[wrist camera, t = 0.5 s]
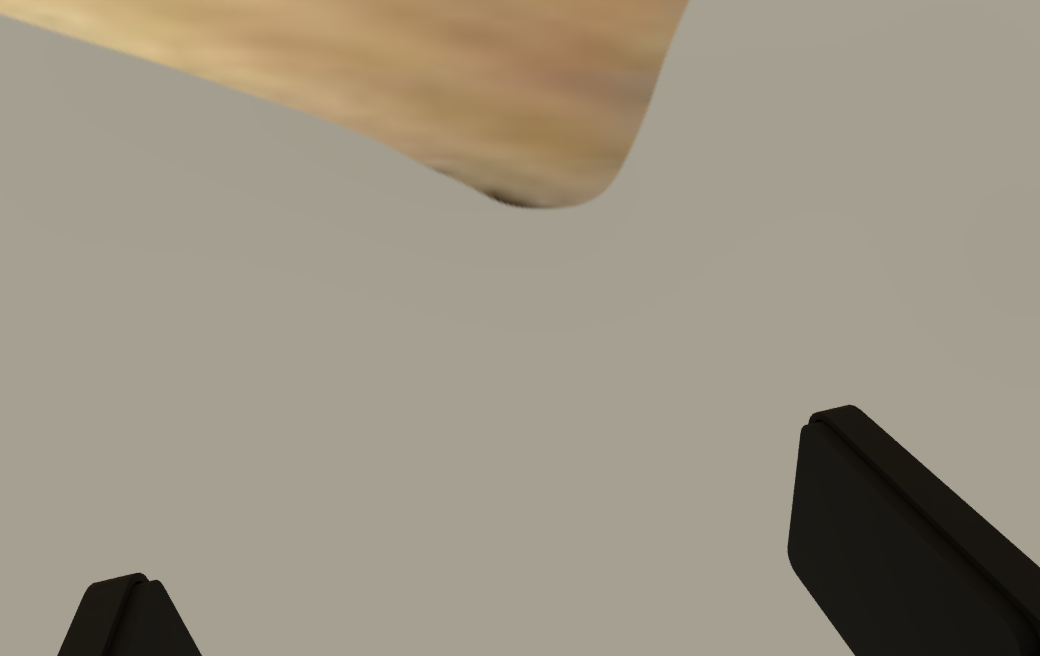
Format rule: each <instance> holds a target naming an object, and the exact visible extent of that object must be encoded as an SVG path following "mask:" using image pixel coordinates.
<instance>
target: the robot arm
mask: <svg viewBox="0 0 1040 656" xmlns="http://www.w3.org/2000/svg"><path fill="white" fill-rule="evenodd" d="M788 557H789V560H790V563H791V566H792V568H793V570H794V571H795V573H796V575H797V576H798V577H799V579H800V580H801V581H802V583H803V584H804V586H805V587H806V588H807V590H808V591H809V593H810V594H811V595H812V597H813V598H814V599H815V601H816V602H817V604H818V605H819V606H820V608H821V609H822V610H823V612H824V613H825V615H826V616H827V617H828V619H829V620H830V622H831V623H832V624H833V626H834V627H835V629H836V630H837V631H838V633H839V634H840V635H841V637H842V638H843V640H844V641H845V642H846V644H847V645H848V646H849V648H850V649H851V650H852V652H853V653H854V655H855V656H1040V567H1039V566H1038V565H1036V564H1035V563H1034V562H1033V561H1032V560H1031V559H1030V558H1029V557H1027V556H1026V555H1025V554H1024V553H1023V552H1022V551H1021V550H1019V549H1018V548H1017V547H1016V546H1015V545H1014V544H1013V543H1011V542H1010V541H1009V540H1008V539H1007V538H1006V537H1005V536H1003V535H1002V534H1001V533H1000V532H999V531H998V530H997V529H996V528H994V527H993V526H992V525H991V524H990V523H989V522H988V521H986V520H985V519H984V518H983V517H982V516H981V515H979V514H978V513H977V512H976V511H975V510H974V509H973V508H972V507H970V506H969V505H968V504H967V503H966V502H965V501H963V500H962V499H961V498H960V497H959V496H958V495H957V494H956V493H955V492H953V491H952V490H951V489H950V488H949V487H948V486H946V485H945V484H944V483H943V482H942V481H941V480H940V479H939V478H937V477H936V476H935V475H934V474H933V473H932V472H931V471H930V470H928V469H927V468H926V467H925V466H924V465H923V464H922V463H920V462H919V461H918V460H917V459H916V458H915V457H914V456H912V455H911V454H910V453H909V452H908V451H907V450H906V449H905V448H903V447H902V446H901V445H900V444H899V443H898V442H897V441H895V440H894V439H893V438H892V437H891V436H890V435H889V434H888V433H886V432H885V431H884V430H883V429H882V428H881V427H879V426H878V425H877V424H876V423H875V422H874V421H873V420H872V419H870V418H869V417H868V416H867V415H866V414H865V413H864V412H863V411H861V410H860V409H858V408H857V407H855V406H853V405H846V406H842V407H838V408H833V409H829V410H825V411H821V412H817V413H814V414H812V416H811V417H810V419H809V423H808V425H804V426H803V428H802V429H801V434H800V442H799V451H798V460H797V470H796V478H795V486H794V495H793V504H792V513H791V522H790V530H789V539H788ZM57 656H202V655H201V653H200V652H199V650H198V648H197V646H196V644H195V642H194V641H193V639H192V637H191V635H190V634H189V631H188V630H187V628H186V626H185V624H184V623H183V621H182V619H181V617H180V615H179V613H178V611H177V610H176V608H175V606H174V604H173V602H172V601H171V599H170V597H169V595H168V593H167V591H166V590H165V588H164V586H163V585H162V583H161V582H160V581H158V580H153V581H149V580H148V579H147V578H146V576H145V575H144V574H142V573H134V574H130V575H126V576H122V577H117V578H113V579H109V580H105V581H101V582H97V583H93V584H92V585H90V586H89V587H88V589H87V590H86V592H85V594H84V596H83V598H82V600H81V602H80V605H79V607H78V609H77V612H76V614H75V616H74V619H73V621H72V623H71V626H70V628H69V630H68V632H67V635H66V637H65V639H64V642H63V644H62V646H61V648H60V651H59V653H58V655H57Z"/></svg>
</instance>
